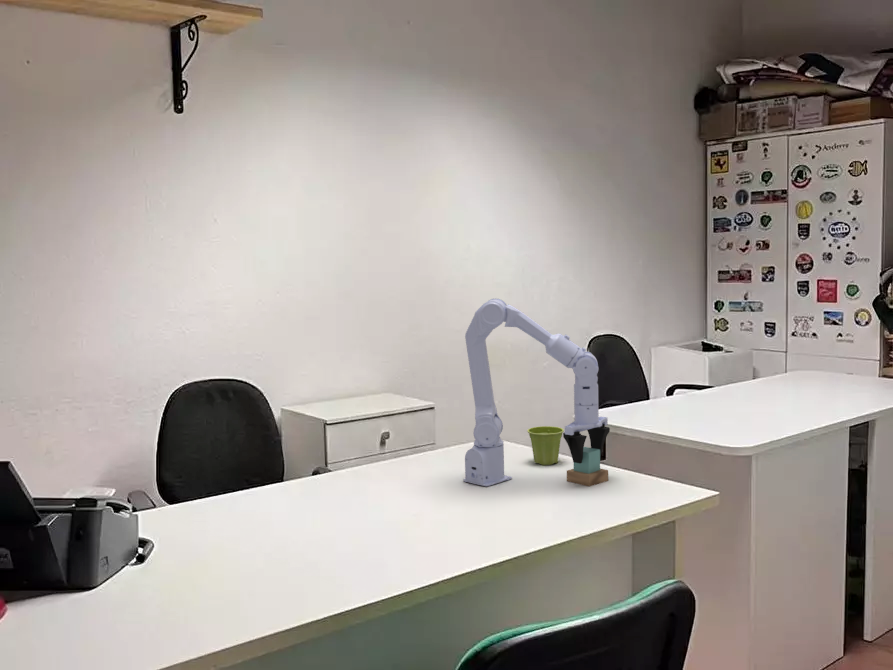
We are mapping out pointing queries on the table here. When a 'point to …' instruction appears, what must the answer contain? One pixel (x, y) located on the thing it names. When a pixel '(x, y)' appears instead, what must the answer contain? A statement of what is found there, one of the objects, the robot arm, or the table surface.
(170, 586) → the table surface
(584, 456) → the teal cube
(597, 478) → the walnut slab
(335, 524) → the table surface
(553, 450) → the plant pot
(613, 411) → the table surface
